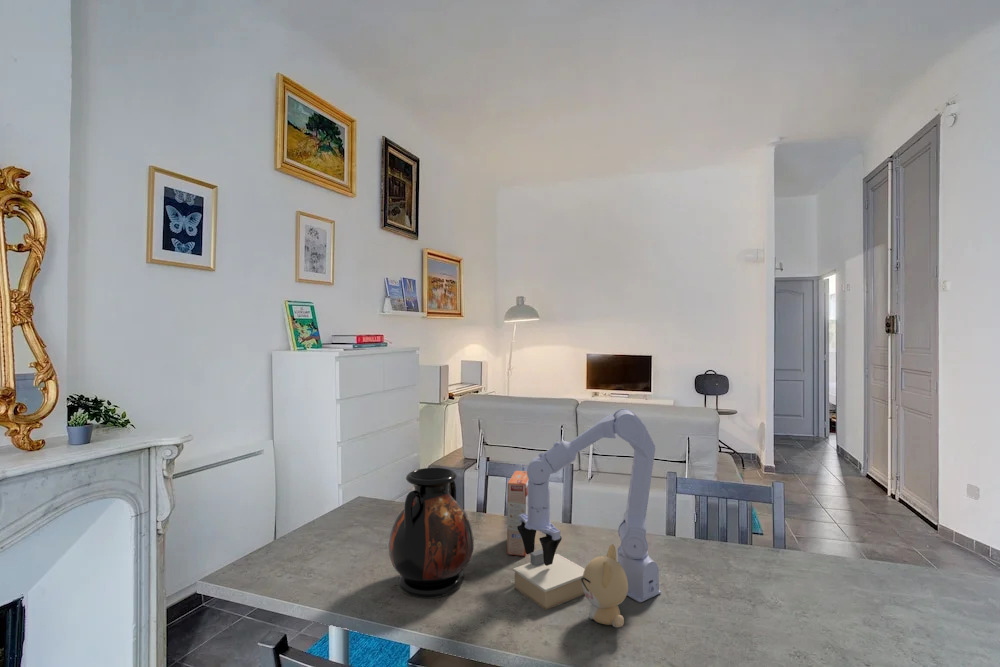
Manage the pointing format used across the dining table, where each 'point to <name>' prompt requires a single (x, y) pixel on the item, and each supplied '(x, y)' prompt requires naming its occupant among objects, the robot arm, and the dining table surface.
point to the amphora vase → (431, 536)
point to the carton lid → (549, 571)
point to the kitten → (605, 588)
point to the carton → (550, 597)
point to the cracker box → (516, 511)
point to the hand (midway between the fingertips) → (538, 558)
